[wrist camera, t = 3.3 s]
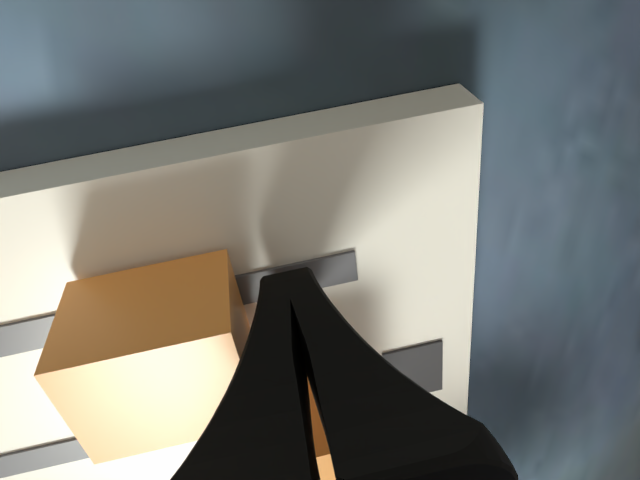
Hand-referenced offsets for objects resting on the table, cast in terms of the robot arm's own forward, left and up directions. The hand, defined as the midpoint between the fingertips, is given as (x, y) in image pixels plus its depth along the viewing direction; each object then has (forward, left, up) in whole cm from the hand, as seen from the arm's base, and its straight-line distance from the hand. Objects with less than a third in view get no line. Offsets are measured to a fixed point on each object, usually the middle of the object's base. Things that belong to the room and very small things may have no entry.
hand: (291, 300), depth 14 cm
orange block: (+3, 0, -1) cm, 3 cm away
